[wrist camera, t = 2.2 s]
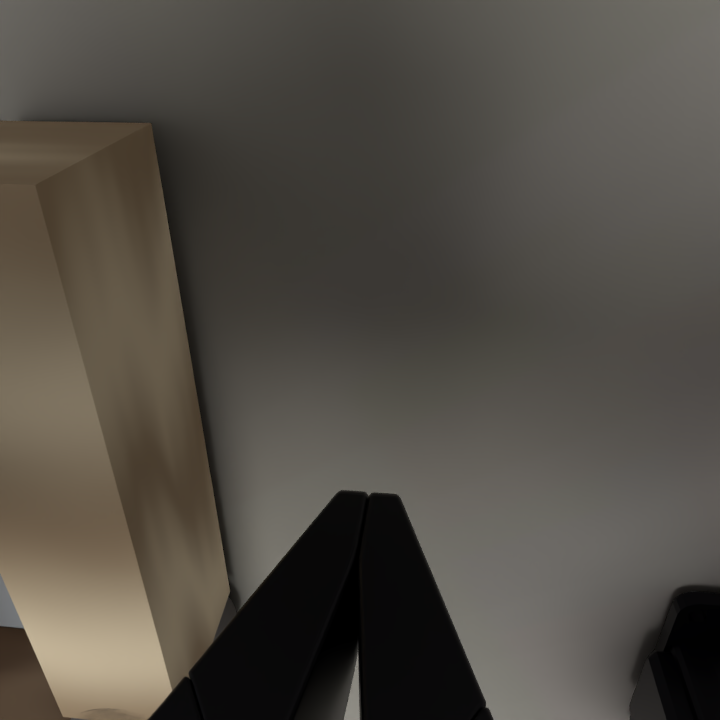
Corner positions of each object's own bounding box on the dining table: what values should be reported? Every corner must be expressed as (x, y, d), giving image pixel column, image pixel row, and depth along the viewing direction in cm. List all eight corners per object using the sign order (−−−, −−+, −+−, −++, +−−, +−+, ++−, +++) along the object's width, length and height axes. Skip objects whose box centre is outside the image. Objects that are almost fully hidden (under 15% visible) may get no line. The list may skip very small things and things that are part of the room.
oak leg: (242, 647, 20) (202, 786, 17) (143, 637, 20) (83, 772, 17) (156, 122, 12) (42, 185, 9) (-7, 120, 12) (-179, 178, 9)
